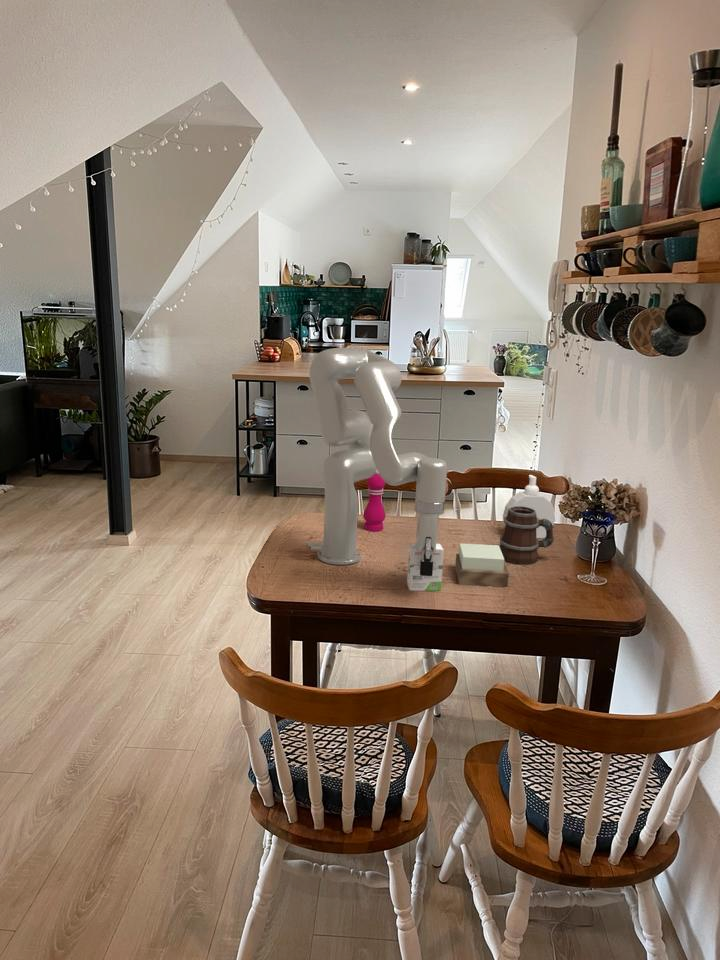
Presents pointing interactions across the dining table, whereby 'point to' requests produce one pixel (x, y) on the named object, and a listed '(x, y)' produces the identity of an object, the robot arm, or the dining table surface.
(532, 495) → the soap bottle
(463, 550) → the tower top
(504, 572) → the tower base
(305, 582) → the dining table surface
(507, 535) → the mug
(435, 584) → the ink box
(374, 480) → the pepper mill
